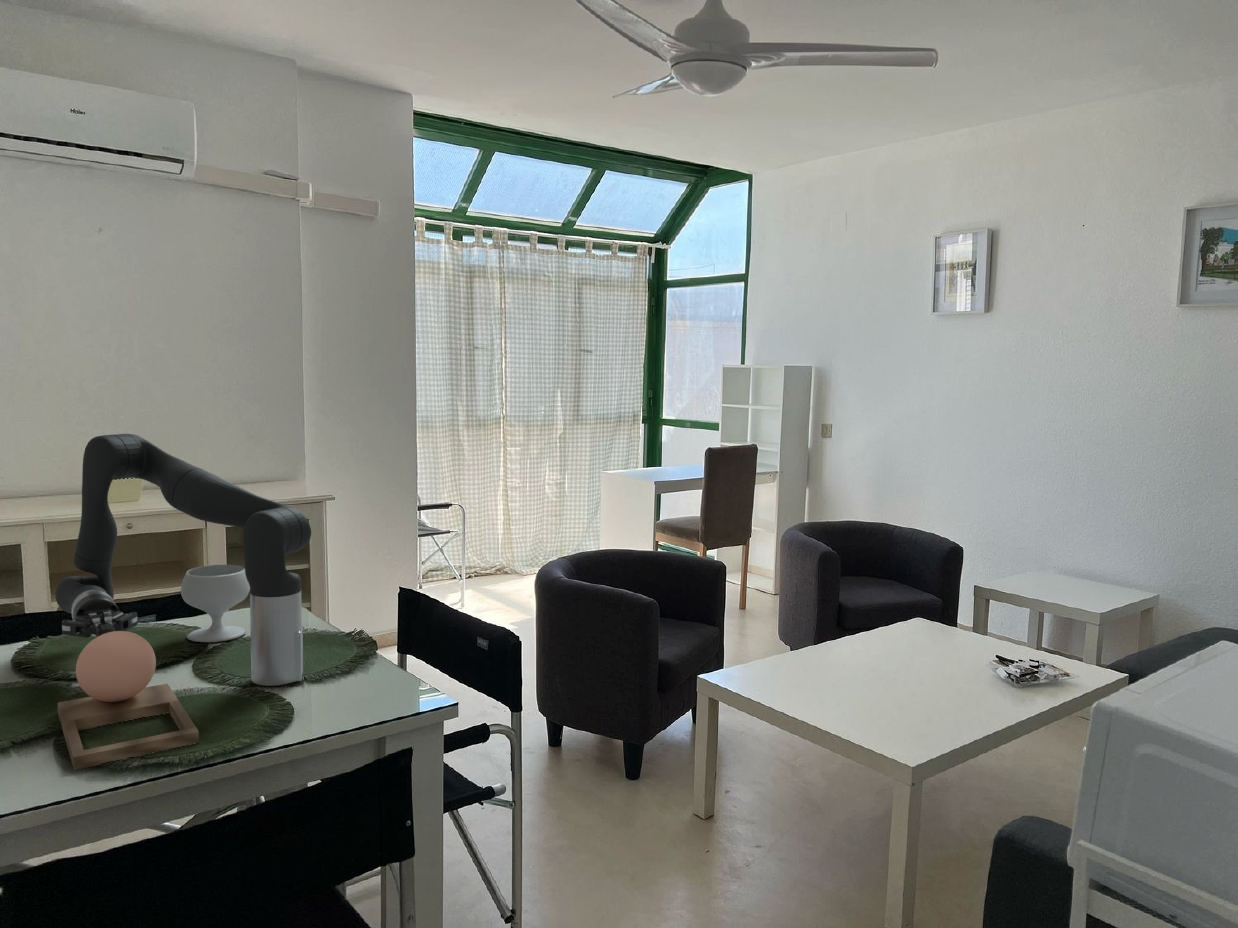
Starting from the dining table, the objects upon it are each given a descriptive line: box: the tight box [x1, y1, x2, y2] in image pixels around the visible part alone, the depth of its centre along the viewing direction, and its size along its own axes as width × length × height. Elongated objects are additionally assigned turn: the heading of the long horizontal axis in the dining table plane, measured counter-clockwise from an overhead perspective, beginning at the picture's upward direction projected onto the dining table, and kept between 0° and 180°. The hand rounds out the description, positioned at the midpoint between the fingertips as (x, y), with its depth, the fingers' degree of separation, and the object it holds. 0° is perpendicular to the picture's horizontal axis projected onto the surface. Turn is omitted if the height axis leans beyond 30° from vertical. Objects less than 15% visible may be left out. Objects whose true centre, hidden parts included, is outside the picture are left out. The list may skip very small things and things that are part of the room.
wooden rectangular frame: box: [57, 683, 200, 771], centre depth 143 cm, size 17×26×2 cm, turn 37°
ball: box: [75, 630, 157, 702], centre depth 150 cm, size 12×12×12 cm
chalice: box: [180, 564, 250, 643], centre depth 194 cm, size 14×14×15 cm
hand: (106, 635), depth 158 cm, fingers closed
